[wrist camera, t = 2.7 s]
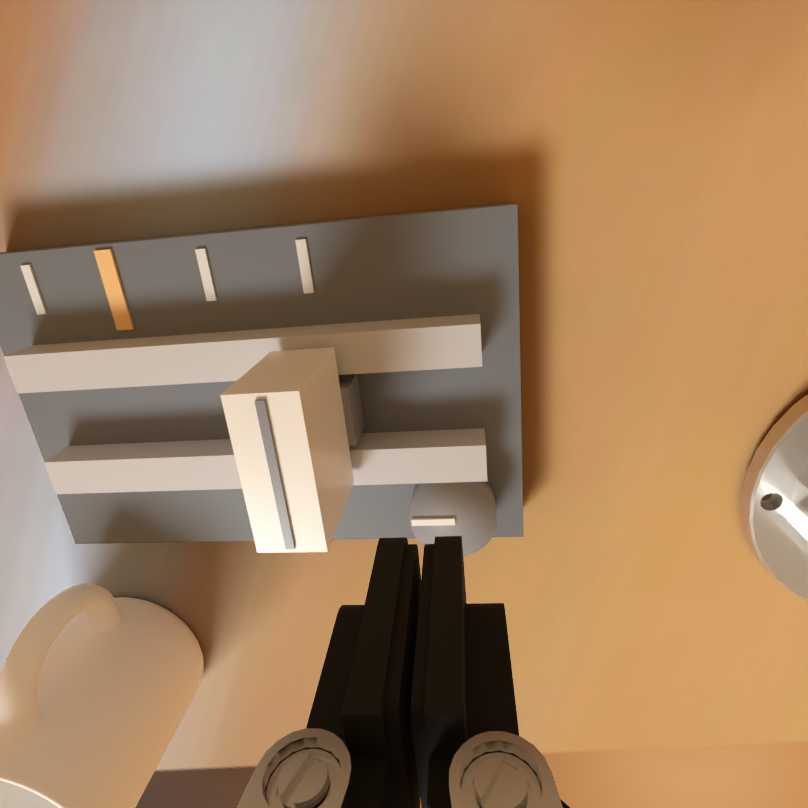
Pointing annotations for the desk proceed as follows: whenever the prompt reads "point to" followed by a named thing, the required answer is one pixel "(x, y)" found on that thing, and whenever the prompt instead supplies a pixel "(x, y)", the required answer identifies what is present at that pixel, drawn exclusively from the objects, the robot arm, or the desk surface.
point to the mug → (92, 700)
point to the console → (249, 343)
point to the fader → (294, 446)
